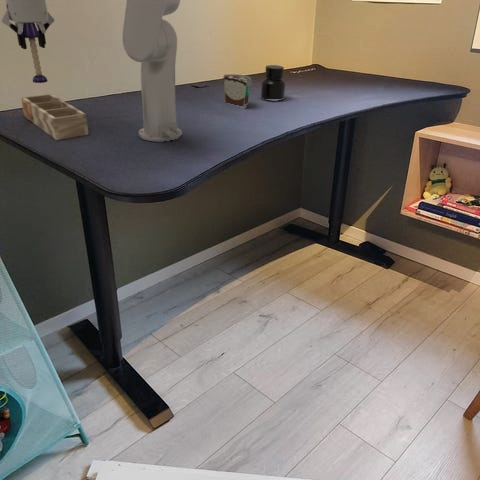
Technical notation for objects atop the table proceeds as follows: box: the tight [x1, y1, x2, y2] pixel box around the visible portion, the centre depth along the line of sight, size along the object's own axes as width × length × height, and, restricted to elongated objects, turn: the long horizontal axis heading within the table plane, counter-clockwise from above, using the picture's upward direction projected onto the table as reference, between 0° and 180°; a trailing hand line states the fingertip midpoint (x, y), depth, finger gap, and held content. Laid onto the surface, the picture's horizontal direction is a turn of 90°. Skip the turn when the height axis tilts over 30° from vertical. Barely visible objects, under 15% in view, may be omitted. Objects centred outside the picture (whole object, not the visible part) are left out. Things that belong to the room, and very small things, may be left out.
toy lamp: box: [22, 23, 48, 84], centre depth 139 cm, size 5×5×17 cm
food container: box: [222, 73, 253, 107], centre depth 171 cm, size 12×6×10 cm, turn 47°
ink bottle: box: [260, 64, 286, 99], centre depth 180 cm, size 10×9×12 cm
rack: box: [20, 93, 89, 141], centre depth 141 cm, size 26×10×6 cm, turn 40°
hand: (33, 47), depth 138 cm, fingers closed on toy lamp, 4 cm apart
